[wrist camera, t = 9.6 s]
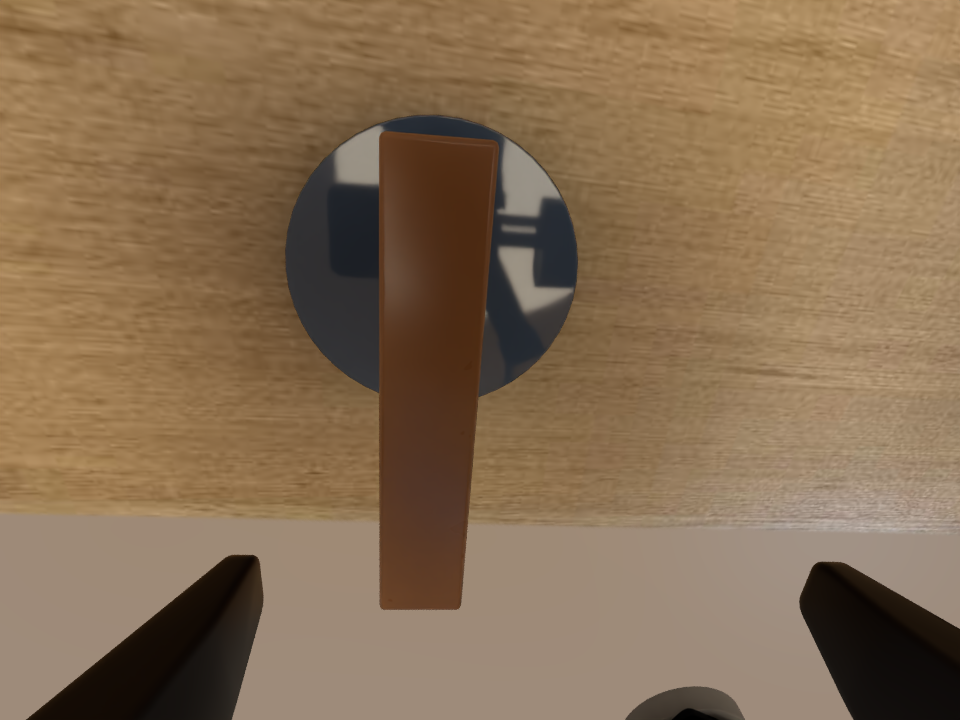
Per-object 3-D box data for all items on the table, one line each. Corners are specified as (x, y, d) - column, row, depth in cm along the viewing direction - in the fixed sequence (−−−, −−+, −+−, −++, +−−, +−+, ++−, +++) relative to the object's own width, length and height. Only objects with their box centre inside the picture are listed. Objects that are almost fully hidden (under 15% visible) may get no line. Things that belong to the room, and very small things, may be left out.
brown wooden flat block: (409, 386, 19) (379, 611, 10) (415, 136, 16) (378, 130, 7) (452, 388, 19) (460, 611, 10) (467, 141, 16) (500, 140, 7)
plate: (474, 430, 21) (476, 445, 20) (247, 308, 19) (235, 319, 18) (625, 226, 19) (636, 231, 17) (382, 47, 16) (377, 40, 15)
